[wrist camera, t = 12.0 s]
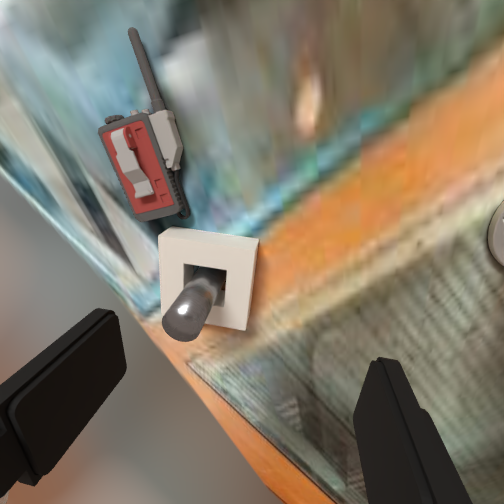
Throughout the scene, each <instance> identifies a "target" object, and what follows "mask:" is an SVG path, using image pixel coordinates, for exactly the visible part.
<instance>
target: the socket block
mask: <svg viewBox="0 0 504 504" xmlns="http://www.w3.org/2000/svg"><path fill="white" fill-rule="evenodd" d="M258 244H259V239H256V238H249V237H242V236H235V235H229V234H222V233H215V232H209V231H202V230H195V229H188V228H182V227H175V226H171V227H170V228H168V229H167V230H166V231H164V232H163V233H161V234H160V235H158V245H159V267H160V290H161V313H162V316H164V315H165V313H166V312H167V311H168V309H169V308H170V306H171V305H172V304H173V302H174V301H175V300H176V298H177V297H178V296H179V294H180V293H181V292H182V290H183V289H184V288H185V286H186V285H187V283H188V282H189V281H190V279H191V278H192V277H193V275H194V265H198V266H204V267H210V268H216V269H223V270H227V277H226V290H225V291H224V290H220V292H219V294H218V296H217V298H216V300H215V302H214V304H213V306H212V309H211V311H210V313H209V315H208V317H207V319H206V321H205V324H211V325H216V326H222V327H227V328H233V329H239V330H244V331H246V327H247V323H248V319H249V314H250V308H251V300H252V292H253V284H254V276H255V268H256V260H257V252H258Z"/></svg>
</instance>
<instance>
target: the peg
mask: <svg viewBox="0 0 504 504" xmlns="http://www.w3.org/2000/svg"><path fill="white" fill-rule="evenodd" d="M226 277H227V270H223V269H216V268H210V267H204V266H200V267H199V269H198V270H197V271H196V273H195V274H194V275H193V277H192V278H191V279H190V281H189V282H188V283H187V285H186V286H185V288H184V289H183V290H182V292H181V293H180V294H179V296H178V297H177V298H176V300H175V301H174V302H173V304H172V305H171V306H170V308H169V309H168V311H167V312H166V313H165V315H164V316H163V318H162V326H163V328H164V330H165V332H166V333H167V334H168V335H169V336H170V337H172V338H173V339H175V340H178V341H182V342H188V341H192V340H194V339H196V338H197V337H198V335H199V333H200V331H201V329H202V327H203V325H204V323H205V321H206V319H207V317H208V315H209V313H210V311H211V309H212V306H213V304H214V302H215V300H216V298H217V296H218V294H219V292H220V290H221V288H222V286H223V284H224V281H225V279H226Z"/></svg>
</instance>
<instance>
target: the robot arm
mask: <svg viewBox="0 0 504 504" xmlns="http://www.w3.org/2000/svg"><path fill="white" fill-rule="evenodd" d="M488 243H489V248H490V250H491V253H492V255H493V256H494V258H495V259H496V260H497V261H498V262H499V263H500V264H501V265H503V266H504V201H503V202H502V203H501V205H500V206H499V207H498V209H497V210H496V212H495V214H494V216H493V218H492V220H491V223H490V226H489V232H488ZM126 368H127V366H126V359H125V354H124V348H123V342H122V337H121V331H120V325H119V319H118V316H116V315H115V312H114V311H112V310H106V309H100V308H98V309H95V310H93V311H92V312H91V313H90V314H88V315H87V316H86V317H85V318H83V319H82V320H81V321H80V322H78V323H77V324H76V325H75V326H73V327H72V328H71V329H70V330H68V331H67V332H66V333H65V334H64V335H62V336H61V337H60V338H59V339H57V340H56V341H55V342H53V343H52V344H51V345H50V346H48V347H47V348H46V349H45V350H43V351H42V352H41V353H40V354H38V355H37V356H36V357H35V358H33V359H32V360H31V361H30V362H29V363H27V364H26V365H25V366H24V367H22V368H21V369H20V370H19V371H17V372H16V373H15V374H13V375H12V376H11V377H10V378H9V379H7V380H6V381H5V382H3V383H2V384H1V385H0V504H6V503H7V498H8V494H9V490H10V489H11V487H12V486H13V485H14V484H15V482H16V481H17V480H18V481H19V482H20V483H24V484H27V485H31V486H35V485H36V484H37V483H38V482H39V480H40V479H41V478H42V476H43V475H46V474H48V473H49V472H50V471H51V470H52V469H53V468H54V467H55V465H56V464H57V462H58V461H59V460H60V459H61V457H62V456H63V455H64V454H65V452H66V451H67V449H68V448H69V447H70V446H71V444H72V443H73V442H74V440H75V439H76V438H77V436H78V435H79V434H80V432H81V431H82V430H83V429H84V427H85V426H86V425H87V423H88V422H89V421H90V419H91V418H92V417H93V416H94V414H95V413H96V412H97V410H98V409H99V407H100V406H101V405H102V404H103V402H104V401H105V400H106V398H107V397H108V395H110V393H111V392H112V391H113V389H114V388H115V387H116V385H117V384H118V383H119V381H120V380H121V379H122V377H123V376H124V374H125V372H126ZM353 423H354V429H355V434H356V440H357V445H358V450H359V455H360V461H361V466H362V471H363V476H364V482H365V487H366V492H367V497H368V502H369V504H472V502H471V499H470V497H469V495H468V493H467V491H466V489H465V487H464V485H463V483H462V481H461V479H460V477H459V474H458V472H457V470H456V468H455V466H454V464H453V462H452V460H451V458H450V456H449V454H448V452H447V450H446V447H445V445H444V443H443V441H442V439H441V437H440V435H439V433H438V431H437V429H436V427H435V425H434V422H433V420H432V418H431V417H430V415H429V413H428V412H427V411H426V410H425V409H422V408H420V406H419V404H418V401H417V399H416V397H415V395H414V393H413V390H412V388H411V386H410V384H409V382H408V380H407V377H406V375H405V373H404V371H403V369H402V366H401V364H400V363H399V361H398V360H394V359H388V358H382V357H378V358H377V360H376V361H371V363H370V366H369V369H368V372H367V375H366V378H365V381H364V384H363V387H362V390H361V393H360V396H359V399H358V402H357V405H356V408H355V411H354V415H353Z"/></svg>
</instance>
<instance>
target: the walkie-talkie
mask: <svg viewBox="0 0 504 504" xmlns="http://www.w3.org/2000/svg"><path fill="white" fill-rule="evenodd" d="M128 35H129V38H130V41H131V44H132V46H133V49H134V52H135V55H136V58H137V61H138V64H139V66H140V69H141V72H142V75H143V78H144V81H145V83H146V86H147V89H148V92H149V95H150V98H151V101H152V102H151V104H152V107H153V110H154V112H155V114H152V113H150V112H149V109H144V110H142V113H139V112H138V110H133V111H130V113H131V116H129V117H127V118H124V117H123V116H122V115H114V116H109V117H107V118H106V119H105V123H106V124H107V125H104V126H102V127H100V128H99V129H98V134H99V136H100V139H101V141H102V143H103V146H104V148H105V150H106V153H107V155H108V157H109V159H110V162H111V164H112V166H113V169H114V171H115V172H116V175H117V177H118V180H119V181H120V185H121V186H122V189H123V190H124V194H125V195H126V198H127V200H128V202H129V204H130V207H131V210H132V211H133V215H134V216H135V218H136V219H137V220H138V221H140V222H145V221H149V220H153V219H157V218H161V217H165V216H169V215H173V214H176V213H177V215H178V217H179V218H181V219H187V218H188V217H189V216H190V209H189V207H188V204H187V201H186V198H185V195H184V192H183V190H182V187H181V184H180V181H179V170H178V169H181V168H180V165H179V163H180V159H181V155H182V151H183V145H182V142H181V139H180V136H179V133H178V130H177V127H176V124H175V117H174V114H173V112H172V111H169V110H166V108H165V105H164V102H163V100H162V99H161V98H160V95H159V92H158V89H157V86H156V83H155V80H154V77H153V74H152V71H151V68H150V65H149V62H148V60H147V57H146V54H145V51H144V49H143V46H142V43H141V40H140V37H139V34H138V31H137V30H136V29H135V28H133V27H131V28H129V29H128ZM183 209H185V211H186V216H184V215H182V214H181V212H180V211H181V210H183Z"/></svg>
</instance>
